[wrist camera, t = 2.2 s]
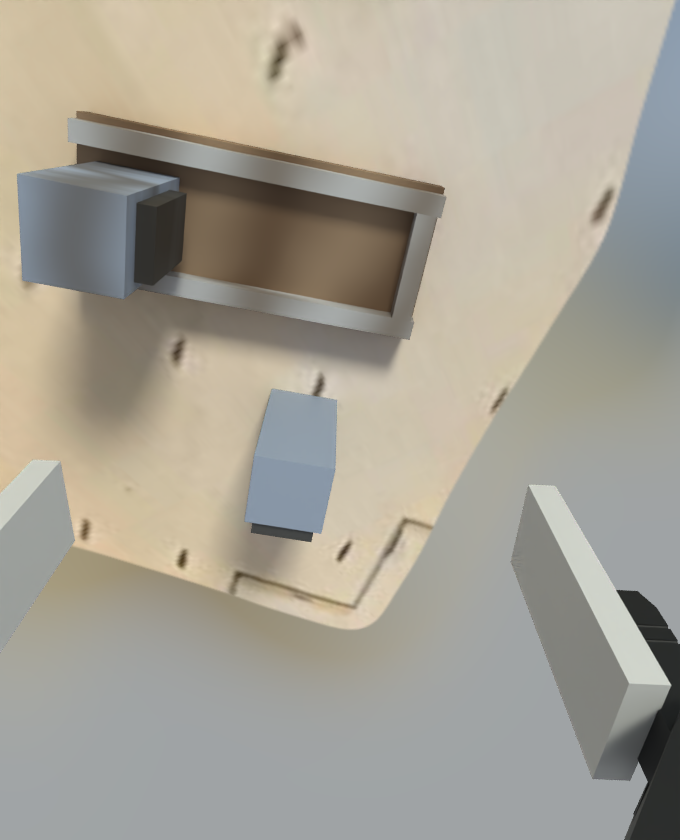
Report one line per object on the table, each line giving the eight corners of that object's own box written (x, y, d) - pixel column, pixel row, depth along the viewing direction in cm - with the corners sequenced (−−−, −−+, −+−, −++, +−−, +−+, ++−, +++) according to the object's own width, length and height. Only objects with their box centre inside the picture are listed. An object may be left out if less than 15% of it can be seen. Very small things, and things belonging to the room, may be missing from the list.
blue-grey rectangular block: (261, 455, 38) (242, 534, 31) (272, 388, 36) (254, 455, 29) (323, 466, 38) (318, 545, 31) (337, 400, 36) (335, 469, 29)
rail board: (86, 272, 32) (-1, 323, 24) (86, 111, 29) (-16, 107, 21) (404, 332, 34) (423, 399, 26) (441, 185, 30) (477, 209, 22)
